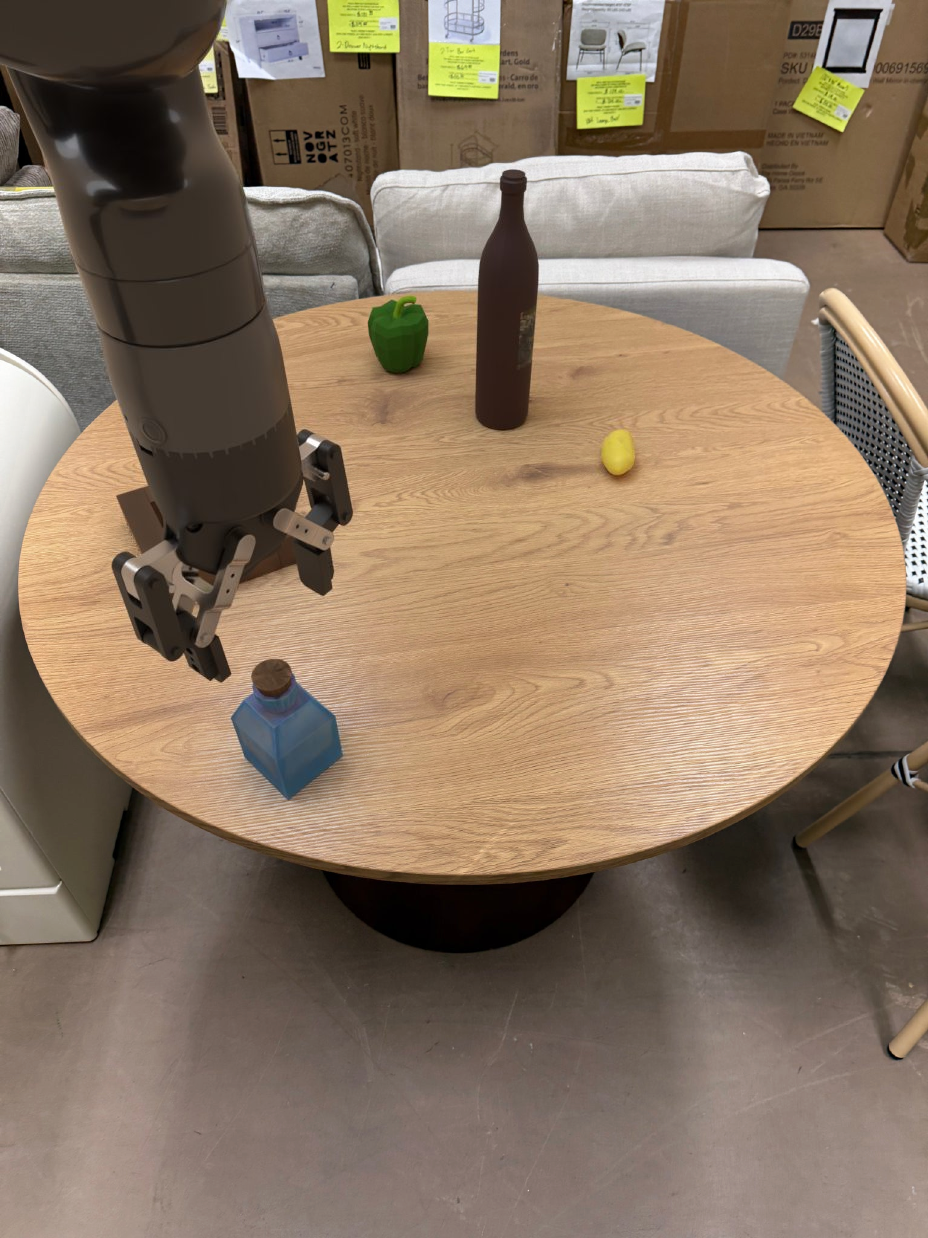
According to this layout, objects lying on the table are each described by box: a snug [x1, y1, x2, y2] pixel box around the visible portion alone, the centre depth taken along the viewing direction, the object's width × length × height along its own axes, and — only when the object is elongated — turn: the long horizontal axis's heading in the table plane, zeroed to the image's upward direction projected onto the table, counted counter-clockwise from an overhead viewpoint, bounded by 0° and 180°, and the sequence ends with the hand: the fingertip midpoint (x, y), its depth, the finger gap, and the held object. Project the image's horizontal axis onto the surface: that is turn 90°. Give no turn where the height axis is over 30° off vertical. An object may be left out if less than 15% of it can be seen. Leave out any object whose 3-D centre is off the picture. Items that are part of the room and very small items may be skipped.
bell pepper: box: [367, 295, 430, 374], centre depth 113 cm, size 8×8×10 cm
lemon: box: [600, 429, 636, 476], centre depth 100 cm, size 4×8×4 cm, turn 167°
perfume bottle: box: [230, 658, 344, 801], centre depth 68 cm, size 6×6×12 cm
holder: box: [115, 485, 297, 600], centre depth 90 cm, size 16×16×4 cm
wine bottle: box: [474, 168, 540, 430], centre depth 97 cm, size 7×7×30 cm
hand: (268, 628), depth 50 cm, fingers open, 8 cm apart
